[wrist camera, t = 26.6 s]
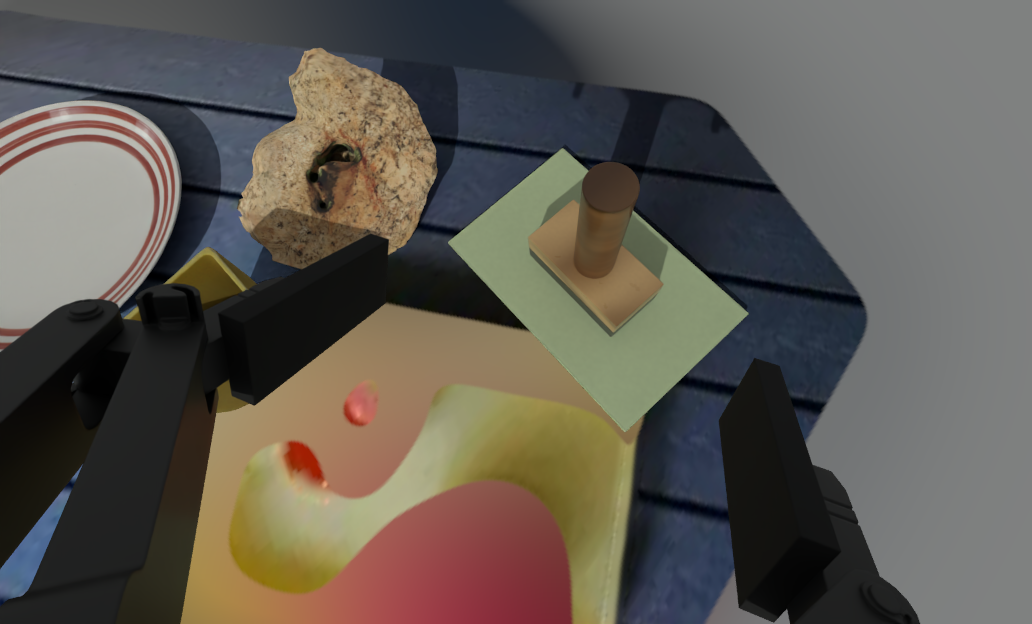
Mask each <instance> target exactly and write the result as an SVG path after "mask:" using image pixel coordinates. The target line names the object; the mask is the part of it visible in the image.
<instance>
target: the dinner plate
mask: <svg viewBox="0 0 1032 624" xmlns="http://www.w3.org/2000/svg"><path fill="white" fill-rule="evenodd" d="M181 189H182V180H181V172H180V167H179V162H178V160H177V156H176V153H175V151H174V149H173V147H172V145H171V143H170V142H169V140H168V138H167V137H166V136H165V134H164V133H163V132H162V131H161V130H160V128H159V127H158V126H157V125H155V124H154V123H153V122H152V121H151V120H149V119H148V118H147V117H145V116H144V115H142V114H140V113H139V112H137V111H134V110H132V109H130V108H128V107H125V106H122V105H118V104H114V103H109V102H104V101H91V100H83V101H69V102H61V103H56V104H51V105H47V106H43V107H39V108H36V109H33V110H30V111H27V112H24V113H21V114H19V115H17V116H14V117H12V118H10V119H7V120H5V121H3V122H1V123H0V352H1V351H2V350H3V349H4V348H6V347H7V346H8V345H10V344H11V343H12V342H14V341H15V340H16V339H17V338H19V337H20V336H21V335H23V334H24V333H25V332H27V331H28V330H29V329H30V328H32V327H33V326H34V325H36V324H37V323H38V322H40V321H41V320H42V319H43V318H45V317H46V316H47V315H49V314H50V313H51V312H53V311H54V310H56V309H57V308H59V307H61V306H63V305H66V304H69V303H72V302H74V301H78V300H84V299H103V300H109V301H112V302H114V303H116V304H118V307H119V308H120V307H121V306H122V305H123V304H124V303H125V302H126V301H127V300H128V299H129V298H130V297H131V296H132V295H133V293H134V292H135V291H136V290H137V289H138V288H139V286H140V285H141V284H142V283H143V282H144V280H145V279H146V278H147V276H148V275H149V274H150V272H151V271H152V269H153V268H154V266H155V265H156V263H157V261H158V260H159V258H160V256H161V255H162V253H163V251H164V249H165V246H166V244H167V242H168V240H169V238H170V236H171V234H172V231H173V228H174V225H175V222H176V218H177V215H178V211H179V207H180V201H181Z"/></svg>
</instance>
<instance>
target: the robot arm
mask: <svg viewBox="0 0 1032 624" xmlns="http://www.w3.org/2000/svg"><path fill="white" fill-rule="evenodd" d="M388 248H389V239H386V238H383V237H380V236H377V235H374V234H371V233H370V234H369V235H367V236H365V237H363V238H361V239H359V240H357V241H355V242H353V243H351V244H349V245H347V246H345V247H344V248H342V249H340V250H338V251H336V252H334V253H332V254H330V255H328V256H326V257H324V258H322V259H321V260H319V261H317V262H315V263H313V264H311V265H309V266H307V267H305V268H303V269H301V270H299V271H297V272H296V273H294V274H292V275H290V276H288V277H286V278H283V277H278V278H274V279H270V280H266V281H262V282H260V283H258V284H256V285H254V286H252V287H250V288H249V290H247V289H246V290H244V291H242V292H240V293H238V295H237V296H236V295H234V296H232V297H231V298H229V299H227V300H225V301H223V302H221V303H219V304H217V305H215V306H213V307H211V308H209V309H207V310H205V311H203V308H202V302H201V297H200V292H199V290H198V289H197V288H195V287H194V286H190V285H187V284H178V283H171V284H161V285H157V286H153V287H149V288H147V289H145V290H143V291H141V292H140V293H139V294H138V295H137V296H136V297H135V298H136V302H137V306H138V309H139V313H140V317H141V320H142V321H138V320H130V319H122V317H121V314H120V310H119V307H118V304H116V303H114V302H112V301H109V300H103V299H84V300H78V301H74V302H72V303H69V304H66V305H63V306H61V307H59V308H57V309H56V310H54V311H53V312H51V313H50V314H49V315H47V316H46V317H45V318H43V319H42V320H41V321H40V322H38V323H37V324H36V325H34V326H33V327H32V328H30V329H29V330H28V331H27V332H25V333H24V334H23V335H21V336H20V337H19V338H17V339H16V340H15V341H14V342H12V343H11V344H10V345H8V346H7V347H6V348H4V349H3V350H2V351H1V352H0V569H1V567H2V566H3V565H4V563H5V562H6V561H7V560H8V558H9V557H10V556H11V555H12V553H13V552H14V551H15V549H16V548H17V547H18V546H19V544H20V543H21V542H22V541H23V539H24V538H25V537H26V536H27V534H28V533H29V532H30V530H31V529H32V528H33V527H34V525H35V524H36V523H37V522H38V520H39V519H40V518H41V517H42V515H43V514H44V513H45V511H46V510H47V509H48V508H49V506H50V505H51V504H52V503H53V501H54V500H55V499H56V497H57V496H58V495H59V494H60V492H61V491H62V490H63V489H64V487H65V486H66V485H67V484H68V482H69V481H70V480H71V478H72V477H73V476H74V475H75V473H76V472H77V471H78V470H79V468H80V467H81V466H82V464H83V466H82V468H81V470H80V473H79V475H78V477H77V480H76V482H75V484H74V487H73V489H72V491H71V494H70V496H69V498H68V501H67V503H66V505H65V508H64V510H63V512H62V515H61V517H60V519H59V521H58V524H57V526H56V528H55V531H54V533H53V535H52V538H51V540H50V542H49V545H48V547H47V549H46V552H45V554H44V556H43V559H42V561H41V563H40V566H39V568H38V570H37V573H36V575H35V577H34V580H33V582H32V584H31V586H30V587H29V589H28V591H27V592H26V593H25V594H24V595H23V596H20V597H16V598H12V599H8V600H7V601H6V602H5V603H4V604H3V605H2V606H0V624H180V622H181V617H182V611H183V605H184V599H185V593H186V587H187V581H188V576H189V570H190V564H191V558H192V552H193V545H194V540H195V535H196V528H197V523H198V517H199V511H200V505H201V500H202V494H203V487H204V482H205V476H206V470H207V464H208V458H209V453H210V446H211V441H212V434H213V429H214V423H215V417H216V412H217V406H218V400H219V394H218V389H217V387H219V386H220V385H222V384H223V383H225V382H226V381H228V380H229V383H230V389H231V395H232V396H233V397H235V398H237V399H240V400H242V401H245V402H247V403H249V404H252V405H256V404H257V403H259V402H260V401H261V400H263V399H264V398H265V397H266V396H268V395H269V394H270V393H271V392H273V391H274V390H275V389H277V388H278V387H279V386H280V385H282V384H283V383H284V382H285V381H287V380H288V379H289V378H291V377H292V376H293V375H294V374H296V373H297V372H298V371H299V370H301V369H302V368H303V367H305V366H306V365H307V364H308V363H310V362H311V361H312V360H314V359H315V358H316V357H317V356H319V355H320V354H321V353H323V352H324V351H325V350H326V349H328V348H329V347H330V346H332V345H333V344H334V343H335V342H337V341H338V340H339V339H340V338H342V337H343V336H344V335H345V334H347V333H348V332H349V331H351V330H352V329H353V328H355V327H356V326H357V325H358V324H360V323H361V322H362V321H363V320H365V319H366V318H367V317H369V316H370V315H371V314H372V313H374V312H375V311H376V310H377V309H379V308H380V307H381V306H383V305H384V304H385V303H386V285H387V266H388ZM73 381H74V382H73ZM72 382H73V383H72ZM719 427H720V436H721V446H722V455H723V464H724V474H725V483H726V492H727V502H728V511H729V520H730V530H731V539H732V548H733V557H734V567H735V576H736V585H737V593H738V604H739V608H740V609H743V610H745V611H747V612H750V613H752V614H754V615H757V616H759V617H762V618H764V619H766V620H769V621H771V622H775V621H776V620H777V619H778V618H779V617H780V615H781V614H782V613H783V612H784V611H785V610H786V609H787V610H788V615H789V620H790V624H920V623H919V620H918V617H917V614H916V613H915V611H914V609H913V608H912V606H911V605H910V603H909V602H908V601H907V599H906V598H905V597H904V596H903V595H902V594H901V593H900V592H899V591H898V590H897V589H896V588H895V587H893V586H892V585H891V584H890V583H888V582H887V581H885V580H884V579H883V578H881V577H880V576H879V573H878V571H877V568H876V566H875V563H874V561H873V558H872V556H871V553H870V550H869V548H868V545H867V543H866V540H865V538H864V535H863V533H862V530H861V528H860V526H859V525H858V520H857V518H856V515H855V512H854V511H853V510H852V505H851V502H850V500H849V497H848V494H847V492H846V490H845V488H844V487H843V486H842V485H841V483H840V482H839V481H838V479H837V478H836V477H835V476H834V474H833V473H832V472H831V471H829V470H826V469H823V468H820V467H817V466H814V465H812V462H811V459H810V456H809V453H808V450H807V447H806V444H805V441H804V438H803V435H802V432H801V429H800V426H799V423H798V420H797V417H796V414H795V411H794V408H793V405H792V402H791V399H790V396H789V393H788V390H787V387H786V384H785V381H784V378H783V375H782V372H781V369H780V366H778V365H775V364H772V363H769V362H766V361H762V360H759V359H756V358H754V360H753V362H752V363H751V365H750V367H749V369H748V370H747V372H746V374H745V376H744V377H743V379H742V381H741V383H740V384H739V386H738V388H737V390H736V391H735V393H734V395H733V397H732V398H731V400H730V402H729V403H728V405H727V407H726V409H725V410H724V412H723V414H722V416H721V417H720V419H719Z"/></svg>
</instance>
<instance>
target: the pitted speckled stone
mask: <svg viewBox="0 0 1032 624" xmlns="http://www.w3.org/2000/svg"><path fill="white" fill-rule="evenodd" d="M289 85H290V88H291V91H292V93H293V98H294V103H295V104H296V106H297V115H296V119H295V120H294V121H292V122H290V123H288V124H286V125H284V126H282V127H281V128H280V129H277V130H275V131H274V132H272V133H270V134H268V135H267V136H266V137H264V138H263V139H261V142H260V143H258V144H257V146H256V148H255V151H254V154H253V159H252V163H253V166H254V169H253V174H254V175H253V177H252V179H251V180H250V182H249V183H248V185H247V186H246V188H245V191H244V192H242V193H241V194H242V196H243V197H244V198H243V199H240V200H239V202H238V207H237V209H238V210H239V211H240V212H241V214H242V217H239V218H240V220H241V222H242V224H243V227H244V228H245V229H246V231H247V232H249V233H250V234H251V237H252V238H253V239H255V240H256V241H257V242H258V243H260V244H262V245H263V246H265V247H266V248H267V249H268V250H269V251H270V252H271V254H272V260H273V261H276V262H279V263H283V264H286V265H289V266H293V267H296V268H299V269H303V268H305V267H307V266H309V265H311V264H313V263H315V262H317V261H319V260H321V259H322V258H324V257H326V256H328V255H330V254H332V253H334V252H336V251H338V250H340V249H342V248H344V247H345V246H347V245H349V244H351V243H353V242H355V241H357V240H359V239H361V238H363V237H365V236H367V235H369V234H370V233H371V234H374V235H377V236H380V237H383V238H386V239H389V248H388V255H389V254H390V253H392V252H394V251H396V249H397V248H400V247H402V246H403V245H405V244H406V243H407V241H408V239H410V237H411V236H412V233H413V231H414V230H415V229H416V227H417V224H418V221H419V219H420V216H421V213H422V210H423V208H424V205H425V204H426V200H427V194H428V192H429V189H430V187H431V186H432V184H433V183H434V180H435V178H436V175H437V172H438V169H437V167H436V163H437V162H436V148H435V146H434V144H433V142H432V140H431V137H430V135H429V133H428V131H427V129H426V127H425V125H424V123H423V122H422V118H421V116H420V113H419V111H418V106H417V104H416V103H414V102H413V101H412V99H411V97H410V96H409V95H408V94H407V92H406V91H405V90H404V88H403V87H402V86H401V85H399V84H397V83H395V82H393V81H390V80H388V79H385V78H383V77H381V76H379V75H378V74H376V73H375V72H372V71H370V70H368V69H366V68H358V66H356V65H353V64H350V63H349V62H347V61H346V60H345V58H341V57H337V56H334V55H332V54H330V53H327V52H326V51H325V50H323V49H322V48H318V49H315V48H314V49H312V50H310V51H305V52H304V56H303V57H302V60H301V63H300V65H299V67H298V69H297V72H296V73H294V74H293V75H291V76H290V77H289ZM316 170H317V171H316Z"/></svg>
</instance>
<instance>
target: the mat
mask: <svg viewBox="0 0 1032 624" xmlns="http://www.w3.org/2000/svg"><path fill="white" fill-rule="evenodd" d="M587 172H588V170H587V169H586V168H585V167H584V166H582V165H581V164H580V163H579V162H578V161H577V160H576V159H575V158H573V157H572V156H571V155H570V154H569V153H568V152H567V151H566V150H564V149H563V148H562V149H561V150H560V151H558V152H557V153H556V154H555V155H553V156H552V157H551V158H550V159H549V160H547V161H546V162H545V163H544V164H543V165H541V166H540V167H539V168H538V169H536V170H535V171H534V172H533V173H532V174H530V175H529V176H528V177H527V178H526V179H524V180H523V181H522V182H521V183H519V184H518V185H517V186H516V187H515V188H513V189H512V190H511V191H510V192H508V193H507V194H506V195H505V196H504V197H502V198H501V199H500V200H499V201H498V202H496V203H495V204H494V205H493V206H491V207H490V208H489V209H488V210H487V211H485V212H484V213H483V214H482V215H481V216H479V217H478V218H477V219H476V220H474V221H473V222H472V223H471V224H470V225H468V226H467V227H466V228H465V229H463V230H462V231H461V232H460V233H459V234H457V235H456V236H455V237H454V238H453V239H451V240H450V241H449V242H448V243H449V245H450V246H451V247H452V248H453V249H454V250H455V251H456V252H457V253H458V255H459V256H460V257H461V258H462V259H463V260H464V261H465V262H466V263H467V264H468V265H469V266H470V267H471V268H472V270H473V271H474V272H475V273H476V274H477V275H478V276H479V277H480V278H481V279H482V280H483V281H484V282H485V283H486V284H487V286H488V287H489V288H490V289H491V290H492V291H493V292H494V293H495V294H496V295H497V296H498V297H499V298H500V299H501V301H502V302H503V303H504V304H505V305H506V306H507V307H508V308H509V309H510V310H511V311H512V312H513V313H514V314H515V316H516V317H517V318H518V319H519V320H520V321H521V322H522V323H523V324H524V325H525V326H526V327H527V328H528V329H529V330H530V332H531V333H532V334H533V335H534V336H535V337H536V338H537V339H538V340H539V341H540V342H541V343H542V344H543V345H544V347H545V348H546V349H547V350H548V351H549V352H550V353H551V354H552V355H553V356H554V357H555V358H556V359H557V360H558V361H559V363H560V364H561V365H562V366H563V367H564V368H565V369H566V370H567V371H568V372H569V373H570V374H571V375H572V376H573V377H574V378H575V380H576V381H577V382H578V383H579V384H580V385H581V386H582V387H583V388H584V389H585V390H586V391H587V392H588V394H589V395H590V396H591V397H592V398H593V399H594V400H595V401H596V402H597V403H598V404H599V405H600V406H601V407H602V408H603V409H604V411H605V412H606V413H607V414H608V415H609V416H610V417H611V418H612V419H613V420H614V421H615V422H616V423H617V425H618V426H619V427H620V428H621V429H622V430H623V431H624V432H626V431H627V430H628V429H629V428H630V427H631V426H632V425H634V424H635V423H636V422H637V421H638V420H639V418H641V417H642V416H643V415H644V414H645V413H646V412H647V411H648V410H649V409H650V408H651V407H652V406H653V405H654V404H655V403H656V402H658V401H659V400H660V399H661V398H662V397H663V396H664V395H665V394H666V393H667V392H668V391H669V390H670V389H671V388H672V387H673V386H674V385H675V384H676V383H677V382H678V381H679V380H680V379H681V378H682V377H684V376H685V375H686V374H687V373H688V372H689V371H690V370H691V369H692V368H693V367H694V366H695V365H696V364H697V363H698V362H699V361H700V360H701V359H702V358H703V357H704V356H705V355H706V354H707V353H709V352H710V351H711V350H712V349H713V348H714V347H715V346H716V345H717V344H718V343H719V342H720V341H721V340H722V339H723V338H724V337H725V336H726V335H727V334H728V333H729V332H730V331H731V330H732V329H734V328H735V327H736V326H737V325H738V324H739V323H740V322H741V321H742V320H743V319H744V318H745V317H746V316H747V315H748V314H749V313H748V312H747V311H745V310H744V309H743V308H742V307H741V306H740V305H739V304H738V303H736V302H735V301H734V300H733V299H732V298H731V297H730V296H729V295H727V294H726V293H725V292H724V291H723V290H722V289H721V288H720V287H718V286H717V285H716V284H715V283H714V282H713V281H712V280H711V279H709V278H708V277H707V276H706V275H705V274H704V273H703V272H702V271H700V270H699V269H698V268H697V267H696V266H695V265H694V264H693V263H691V262H690V261H689V260H688V259H687V258H686V257H685V256H684V255H682V254H681V253H680V252H679V251H678V250H677V249H676V248H675V247H673V246H672V245H671V244H670V243H669V242H668V241H667V240H666V239H664V238H663V237H662V236H661V235H660V234H659V233H658V232H657V231H655V230H654V229H653V228H652V227H651V226H650V225H649V224H648V223H646V222H645V221H644V220H643V219H642V218H641V217H640V216H639V215H638V214H636V213H635V212H634V211H633V212H632V215H631V218H630V221H629V224H628V227H627V230H626V233H625V236H624V239H623V241H622V245H623V246H624V247H625V248H626V249H627V250H628V251H629V252H630V253H631V254H632V255H634V256H635V257H636V258H637V259H638V260H639V261H640V262H641V263H642V264H643V265H644V266H645V267H646V268H647V269H648V270H649V271H651V272H652V273H653V274H654V275H655V276H656V277H657V278H658V279H659V280H660V281H661V282H662V283H663V284H664V285H663V286H662V288H661V289H660V291H659V292H658V294H657V295H656V297H655V298H654V299H653V300H652V301H651V302H650V303H649V304H648V305H646V306H645V307H644V308H643V309H642V310H641V311H640V312H639V313H638V314H636V315H635V316H634V317H633V318H632V319H631V320H630V321H629V322H628V323H626V324H625V325H624V326H623V327H622V328H621V329H620V330H619V331H618V332H616V333H615V334H614V335H613V336H612V337H610V336H609V335H608V334H607V333H606V332H605V331H604V330H603V329H602V328H601V327H600V326H599V325H598V324H597V323H596V322H595V321H594V320H593V319H592V318H591V317H590V316H589V315H588V314H587V312H586V311H585V310H584V309H583V308H582V307H581V306H580V305H579V304H578V303H577V302H576V301H575V300H574V299H573V298H572V297H571V296H570V295H569V294H568V293H567V292H566V291H565V290H564V289H563V288H562V287H561V286H560V285H559V284H558V283H557V282H556V281H555V280H554V279H553V278H552V277H551V276H550V275H549V274H548V273H547V272H546V271H545V270H544V268H543V267H542V266H541V265H540V264H539V263H538V262H537V261H536V260H535V259H534V258H533V257H532V256H531V255H530V251H529V241H528V237H529V236H530V235H531V234H532V233H534V232H535V231H536V230H537V229H538V228H540V227H541V226H542V225H543V224H544V223H546V222H547V221H548V220H549V219H550V218H552V217H553V216H554V215H555V214H556V213H558V212H559V211H560V210H561V209H562V208H564V207H565V206H566V205H567V204H568V203H570V202H571V201H572V200H573V199H574V200H575V201H576V202H577V203H578V204H579V205H580V198H581V189H582V182H583V179H584V177H585V175H586V174H587Z"/></svg>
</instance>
